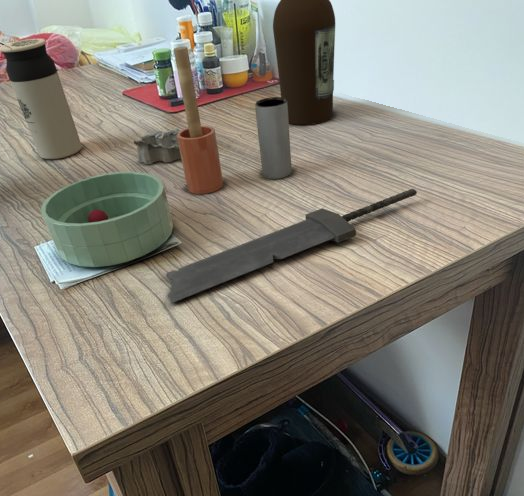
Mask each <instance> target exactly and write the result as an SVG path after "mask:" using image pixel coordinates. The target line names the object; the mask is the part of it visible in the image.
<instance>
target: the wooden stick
mask: <svg viewBox="0 0 524 496" xmlns="http://www.w3.org/2000/svg"><path fill="white" fill-rule="evenodd" d="M173 55H174V60H175V64H176V70H177V76H178V81H179V86H180V90H181V96H182V101H183V107H184V112H185V117H186V122H187V123H186V124H187V128H189V133H190V138H196V137H201V136H203V134H202V128H201V126H202V124H201V118H200V111H199V106H198V100H197V94H196V90H195V89H196V88H195V81H194V76H193V71H192V65H191V61H190V60H191V59H190V54H189V49H188V46H177V47H174V48H173Z"/></svg>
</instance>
